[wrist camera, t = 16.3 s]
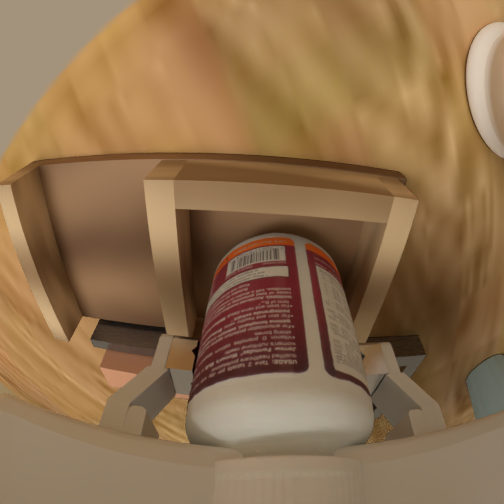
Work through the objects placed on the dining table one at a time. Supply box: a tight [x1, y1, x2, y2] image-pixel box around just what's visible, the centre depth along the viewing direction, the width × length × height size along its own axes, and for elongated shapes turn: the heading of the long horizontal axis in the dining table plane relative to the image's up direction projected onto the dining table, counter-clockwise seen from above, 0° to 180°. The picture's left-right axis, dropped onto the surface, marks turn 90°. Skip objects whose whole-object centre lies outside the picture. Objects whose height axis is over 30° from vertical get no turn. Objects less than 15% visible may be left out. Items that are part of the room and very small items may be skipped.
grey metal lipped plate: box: [90, 319, 189, 400], centre depth 22 cm, size 10×9×3 cm
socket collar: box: [366, 335, 426, 419], centre depth 23 cm, size 10×10×2 cm
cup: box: [466, 354, 504, 419], centre depth 21 cm, size 8×8×10 cm
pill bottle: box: [185, 233, 374, 504], centre depth 11 cm, size 6×6×11 cm
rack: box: [0, 153, 419, 343], centre depth 15 cm, size 11×20×4 cm, turn 87°
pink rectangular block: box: [100, 349, 189, 399], centre depth 19 cm, size 2×7×4 cm, turn 87°
